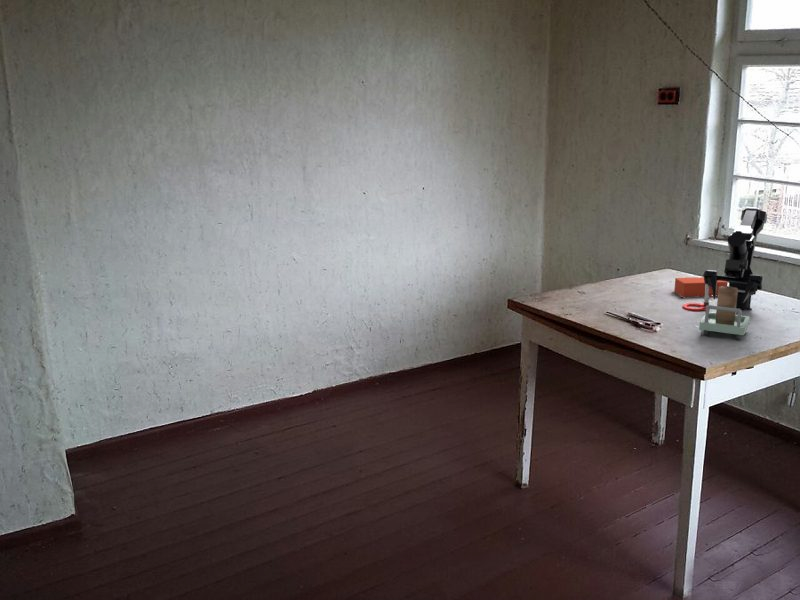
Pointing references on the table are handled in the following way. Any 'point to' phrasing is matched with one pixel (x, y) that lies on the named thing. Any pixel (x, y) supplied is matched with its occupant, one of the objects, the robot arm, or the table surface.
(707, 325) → the parts cart
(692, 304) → the tow hook
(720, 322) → the brown cylinder
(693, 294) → the brick
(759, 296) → the table surface
